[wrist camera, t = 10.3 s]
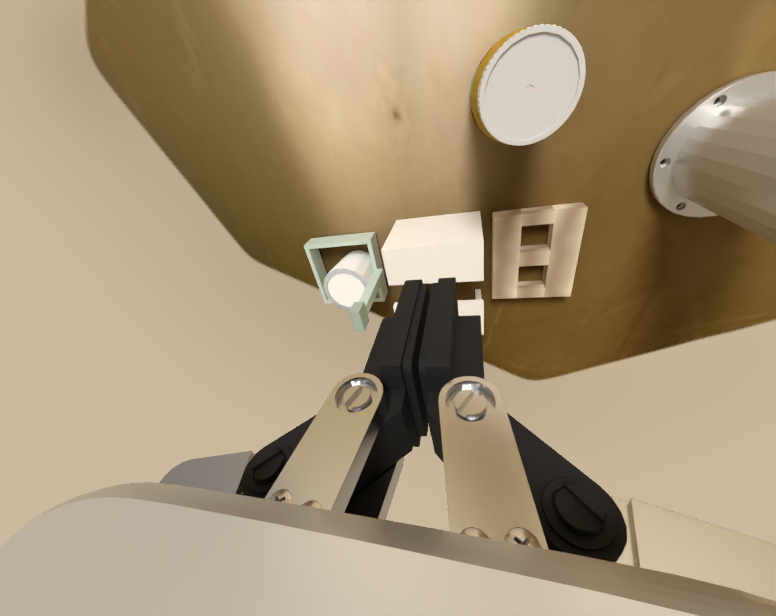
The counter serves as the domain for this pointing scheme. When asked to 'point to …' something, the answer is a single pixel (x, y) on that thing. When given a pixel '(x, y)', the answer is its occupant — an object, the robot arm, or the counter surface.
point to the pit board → (536, 250)
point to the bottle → (528, 84)
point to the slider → (375, 286)
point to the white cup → (349, 279)
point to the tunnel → (438, 254)
